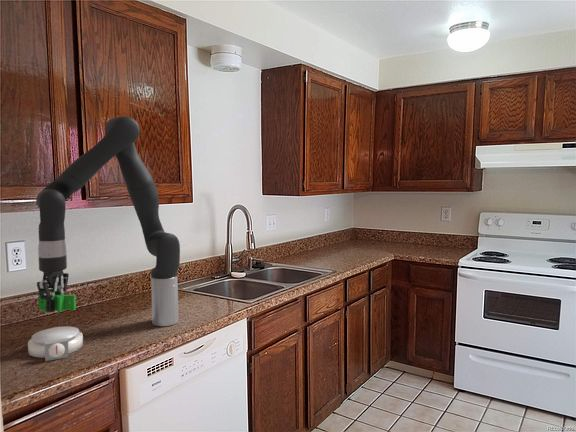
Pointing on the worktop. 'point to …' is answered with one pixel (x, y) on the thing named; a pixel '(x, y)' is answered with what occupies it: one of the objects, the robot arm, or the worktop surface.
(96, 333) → the worktop surface
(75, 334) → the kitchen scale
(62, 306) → the pipe clamp
